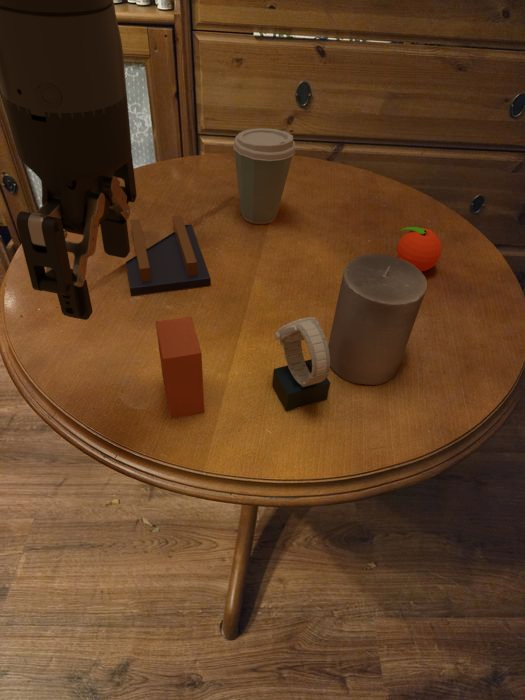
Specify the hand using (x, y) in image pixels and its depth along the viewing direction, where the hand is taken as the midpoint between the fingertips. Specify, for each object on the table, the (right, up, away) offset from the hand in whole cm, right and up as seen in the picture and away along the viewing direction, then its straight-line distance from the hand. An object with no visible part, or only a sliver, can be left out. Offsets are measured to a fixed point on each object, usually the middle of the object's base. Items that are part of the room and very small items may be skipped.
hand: (99, 283), depth 43 cm
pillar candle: (+27, -7, +24) cm, 37 cm away
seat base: (-2, +9, +37) cm, 38 cm away
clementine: (+39, +8, +40) cm, 56 cm away
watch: (+19, -11, +19) cm, 29 cm away
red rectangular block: (+4, -12, +17) cm, 21 cm away
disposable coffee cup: (+14, +19, +49) cm, 55 cm away
